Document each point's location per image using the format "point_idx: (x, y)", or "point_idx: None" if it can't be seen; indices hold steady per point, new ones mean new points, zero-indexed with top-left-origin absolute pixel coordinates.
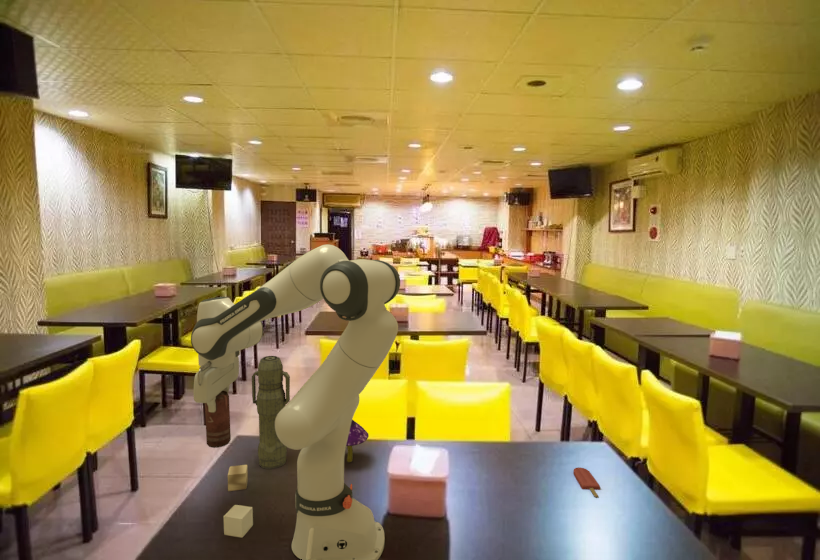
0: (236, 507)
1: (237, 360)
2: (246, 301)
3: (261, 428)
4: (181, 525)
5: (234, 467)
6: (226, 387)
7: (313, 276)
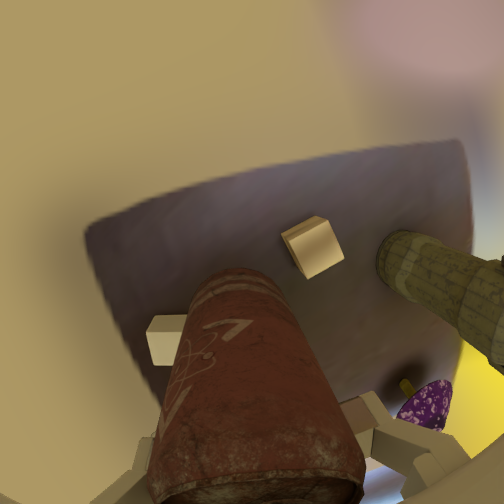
0: (178, 339)
1: None
2: None
3: (438, 275)
4: (147, 221)
5: (325, 235)
6: (405, 498)
7: None
